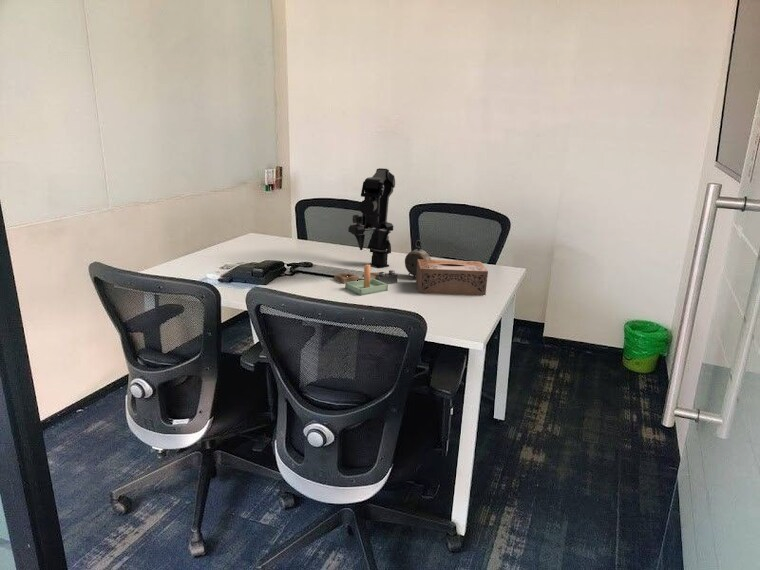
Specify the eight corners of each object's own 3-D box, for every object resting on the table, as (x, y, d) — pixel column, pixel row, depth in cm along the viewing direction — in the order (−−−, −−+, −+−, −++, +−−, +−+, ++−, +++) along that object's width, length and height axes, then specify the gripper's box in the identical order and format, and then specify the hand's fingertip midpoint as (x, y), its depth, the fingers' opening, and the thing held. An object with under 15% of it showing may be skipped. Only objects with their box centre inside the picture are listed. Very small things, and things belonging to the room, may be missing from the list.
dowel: (367, 286, 221) (368, 264, 218) (370, 288, 219) (371, 265, 217) (362, 287, 219) (363, 264, 217) (365, 289, 218) (366, 266, 215)
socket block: (348, 277, 235) (348, 272, 234) (358, 281, 229) (358, 276, 229) (334, 279, 230) (334, 274, 230) (343, 283, 225) (344, 278, 225)
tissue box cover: (418, 293, 218) (420, 268, 215) (415, 282, 232) (417, 259, 229) (485, 296, 219) (488, 271, 216) (478, 285, 233) (480, 261, 230)
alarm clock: (430, 279, 237) (433, 241, 233) (424, 282, 233) (427, 243, 228) (408, 274, 243) (411, 237, 238) (401, 276, 239) (404, 239, 234)
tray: (372, 283, 227) (372, 278, 226) (387, 290, 219) (388, 284, 219) (345, 288, 219) (345, 282, 219) (360, 295, 212) (360, 289, 211)
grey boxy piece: (392, 280, 232) (393, 269, 231) (397, 282, 230) (397, 271, 229) (375, 283, 227) (375, 272, 226) (379, 285, 225) (380, 274, 223)
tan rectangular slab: (382, 277, 238) (382, 271, 237) (392, 281, 233) (392, 276, 232) (362, 280, 233) (362, 274, 232) (371, 284, 227) (371, 278, 226)
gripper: (378, 206, 238) (376, 242, 242) (341, 208, 227) (340, 246, 231) (395, 210, 229) (393, 248, 234) (357, 213, 218) (355, 252, 223)
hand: (370, 248), depth 231 cm, fingers open, 9 cm apart
